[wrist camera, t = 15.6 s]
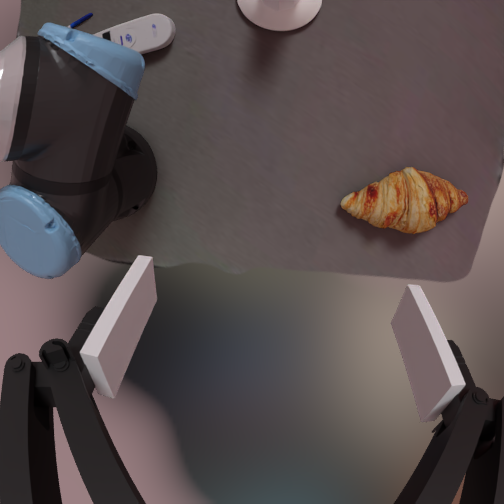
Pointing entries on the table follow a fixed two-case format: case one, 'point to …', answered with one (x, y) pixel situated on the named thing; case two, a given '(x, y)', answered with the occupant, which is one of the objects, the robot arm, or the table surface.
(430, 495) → the robot arm
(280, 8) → the pepper shaker
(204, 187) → the table surface
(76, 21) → the ballpoint pen
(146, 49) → the electronic device
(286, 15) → the saucer
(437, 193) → the croissant
